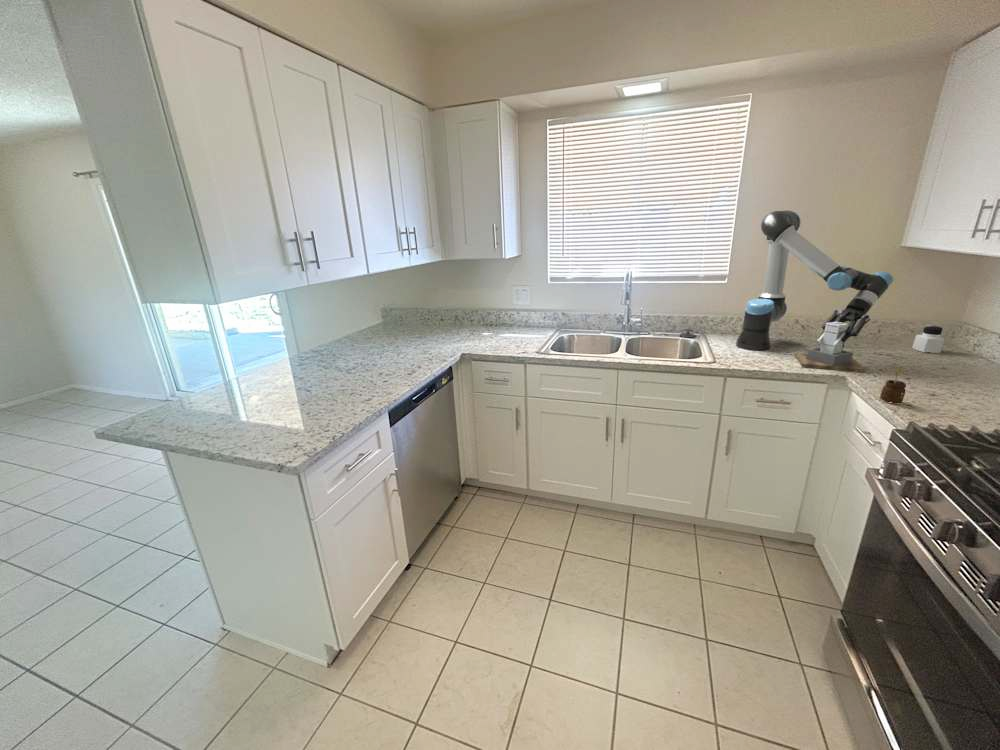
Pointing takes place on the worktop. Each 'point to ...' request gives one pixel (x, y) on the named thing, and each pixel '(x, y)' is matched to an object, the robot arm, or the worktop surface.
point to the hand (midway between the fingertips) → (827, 344)
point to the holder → (829, 357)
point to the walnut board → (810, 363)
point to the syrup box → (833, 337)
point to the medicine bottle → (929, 340)
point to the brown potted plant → (894, 389)
